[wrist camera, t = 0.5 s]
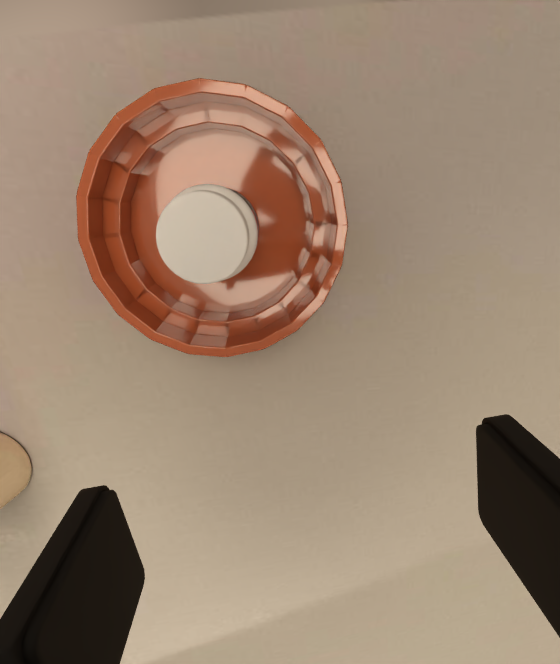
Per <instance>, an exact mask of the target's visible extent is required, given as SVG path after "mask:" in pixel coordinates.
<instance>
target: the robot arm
mask: <svg viewBox="0 0 560 664" xmlns="http://www.w3.org/2000/svg"><path fill="white" fill-rule="evenodd" d="M476 443H477V479H478V510H479V515H480V518H481V521H482V523H483V525H484V527H485V528H486V530H487V531H488V533H489V534H490V535H491V537H492V538H493V540H494V541H495V543H496V544H497V546H498V547H499V549H500V550H501V552H502V553H503V555H504V556H505V558H506V559H507V561H508V562H509V563H510V565H511V566H512V568H513V569H514V571H515V572H516V574H517V575H518V577H519V578H520V580H521V581H522V583H523V584H524V586H525V587H526V589H527V590H528V591H529V593H530V594H531V596H532V597H533V599H534V600H535V602H536V603H537V605H538V606H539V608H540V609H541V611H542V612H543V614H544V615H545V616H546V618H547V619H548V621H549V622H550V624H551V625H552V627H553V628H554V630H555V631H556V633H557V634H558V636H559V637H560V459H559V458H558V457H557V456H556V455H555V454H554V453H553V452H551V451H550V450H549V449H548V448H547V447H546V446H545V445H543V444H542V443H541V442H540V441H539V440H538V439H537V438H535V437H534V436H533V435H532V434H531V433H530V432H529V431H527V430H526V429H525V428H524V427H523V426H522V425H520V424H519V423H518V422H517V421H516V420H515V419H514V418H512V417H511V416H510V415H507V414H505V415H500V416H494V417H488V418H484V419H483V421H482V425H478V426H477V428H476ZM144 579H145V573H144V568H143V565H142V562H141V559H140V557H139V554H138V551H137V548H136V546H135V543H134V540H133V538H132V535H131V532H130V529H129V527H128V524H127V521H126V518H125V516H124V513H123V510H122V508H121V505H120V502H119V499H118V497H117V494H116V492H115V491H114V490H109V488H108V487H107V486H104V485H103V486H98V487H92V488H86V489H82V490H81V491H80V492H79V493H78V495H77V496H76V498H75V499H74V501H73V503H72V504H71V506H70V507H69V509H68V511H67V512H66V514H65V516H64V517H63V519H62V520H61V522H60V524H59V525H58V527H57V528H56V530H55V532H54V533H53V535H52V537H51V538H50V540H49V541H48V543H47V545H46V546H45V548H44V549H43V551H42V553H41V554H40V556H39V558H38V559H37V561H36V562H35V564H34V566H33V567H32V569H31V570H30V572H29V574H28V575H27V577H26V578H25V580H24V582H23V583H22V585H21V587H20V588H19V590H18V591H17V593H16V595H15V596H14V598H13V599H12V601H11V603H10V604H9V606H8V608H7V609H6V611H5V612H4V614H3V616H2V617H1V619H0V664H120V661H121V658H122V654H123V651H124V648H125V644H126V641H127V638H128V635H129V631H130V628H131V625H132V621H133V618H134V615H135V612H136V608H137V605H138V602H139V598H140V595H141V592H142V589H143V585H144Z"/></svg>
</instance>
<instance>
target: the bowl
mask: <svg viewBox="0 0 560 664" xmlns="http://www.w3.org/2000/svg"><path fill="white" fill-rule="evenodd" d="M200 184H214V185H220V186H223V187H226V188H229V189H232V190H235V191H237V192H239V193H240V194H242V195H243V196H244V197H246V198H247V199H248V201H249V202H250V203H251V204H252V206H253V208H254V209H255V212H256V214H257V217H258V221H259V235H258V242H257V247H256V250H255V253H254V255H253V257H252V259H251V260H250V262H249V263H248V265H247V266H246V267H245V268H244V269H243V270H242V271H241V272H239V273H238V274H236V275H235V276H233V277H231V278H229V279H226V280H223V281H219V282H215V283H210V284H198V283H193V282H189V281H187V280H184V279H183V278H181V277H179V276H178V275H176V274H175V273H174V272H172V271H171V270H170V269H169V268H168V266H167V265H166V264H165V263H164V261H163V259H162V258H161V255H160V253H159V251H158V247H157V242H156V227H157V223H158V220H159V217H160V215H161V213H162V211H163V210H164V208H165V207H166V206H167V205H168V204H169V203H170V202H171V200H172V199H173V198H174V197H175V196H176V195H178V194H179V193H180V192H182V191H183V190H185V189H187V188H189V187H192V186H195V185H200ZM76 200H77V224H78V239H79V243H80V246H81V249H82V252H83V254H84V257H85V260H86V263H87V266H88V268H89V271H90V274H91V277H92V279H93V281H94V283H95V284H96V285H97V287H98V288H99V290H100V291H101V292H102V294H103V295H104V296H105V298H106V299H107V300H108V302H109V303H110V305H111V306H112V307H113V309H114V310H115V311H116V313H117V314H118V315H119V316H121V317H122V318H123V319H124V320H126V321H127V322H128V323H130V324H131V325H132V326H134V327H135V328H136V329H137V330H139V331H140V332H141V333H143V334H144V335H145V336H147V337H148V338H149V339H151V340H153V341H156V342H158V343H161V344H164V345H166V346H169V347H171V348H174V349H176V350H179V351H182V352H184V353H188V354H195V355H207V356H219V357H229V356H234V355H239V354H244V353H248V352H253V351H258V350H262V349H265V348H267V347H269V346H271V345H272V344H274V343H276V342H278V341H280V340H281V339H283V338H285V337H287V336H289V335H290V334H292V333H294V332H296V331H297V330H298V329H299V328H300V327H301V326H302V325H303V324H304V323H305V322H306V321H307V320H308V319H309V318H310V317H311V316H312V315H313V314H314V312H315V311H316V310H317V309H318V308H319V307H320V306H321V305H322V304H323V303H324V301H325V299H326V297H327V295H328V293H329V291H330V289H331V287H332V285H333V283H334V281H335V279H336V277H337V275H338V273H339V271H340V269H341V266H342V261H343V255H344V248H345V242H346V235H347V229H348V225H347V224H348V221H347V214H346V207H345V201H344V194H343V188H342V182H341V179H340V177H339V175H338V173H337V171H336V169H335V167H334V165H333V163H332V161H331V159H330V157H329V155H328V153H327V151H326V148H325V146H324V144H323V142H322V141H321V139H320V138H319V137H318V136H317V135H316V134H315V133H314V132H313V131H312V130H311V129H310V128H309V127H308V126H307V125H306V124H305V123H304V122H303V120H302V119H301V118H300V117H299V116H298V115H297V114H296V113H295V112H294V111H293V110H292V109H291V108H290V107H288V106H287V105H285V104H283V103H281V102H280V101H278V100H276V99H274V98H272V97H270V96H268V95H266V94H264V93H262V92H260V91H258V90H256V89H254V88H252V87H250V86H248V85H245V84H240V83H232V82H225V81H217V80H210V79H202V78H200V79H199V78H197V79H193V80H189V81H184V82H180V83H175V84H171V85H167V86H162V87H158V88H154V89H152V90H151V91H149V92H148V93H146V94H145V95H143V96H142V97H140V98H139V99H137V100H136V101H134V102H133V103H131V104H130V105H128V106H127V107H125V108H124V109H122V110H121V111H119V112H118V113H116V115H115V116H114V117H113V118H112V120H111V121H110V123H109V124H108V125H107V127H106V128H105V130H104V131H103V132H102V134H101V135H100V136H99V138H98V139H97V141H96V142H95V143H94V145H93V146H92V148H91V149H90V152H89V153H88V156H87V160H86V163H85V166H84V170H83V173H82V177H81V180H80V184H79V187H78V191H77V195H76Z"/></svg>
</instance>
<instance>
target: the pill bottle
mask: <svg viewBox="0 0 560 664" xmlns="http://www.w3.org/2000/svg"><path fill="white" fill-rule="evenodd" d="M258 235H259V221H258V217H257V214H256V212H255V209H254V208H253V206H252V204H251V203H250V202H249V201H248V199H247V198H246V197H244V196H243V195H242V194H240V193H239V192H237V191H235V190H232V189H229V188H226V187H223V186H220V185H214V184H200V185H195V186H192V187H189V188H187V189H185V190H183V191H182V192H180V193H179V194H178V195H176V196H175V197H174V198H173V199H172V200H171V202H170V203H169V204H168V205H167V206H166V207H165V208H164V210H163V211H162V213H161V215H160V217H159V220H158V223H157V227H156V242H157V247H158V251H159V253H160V255H161V258H162V259H163V261H164V263H165V264H166V265H167V266H168V268H169V269H170V270H171V271H172V272H174V273H175V274H176V275H178V276H179V277H181V278H183V279H184V280H187V281H189V282H193V283H198V284H210V283H215V282H219V281H223V280H226V279H229V278H231V277H233V276H235V275H236V274H238V273H239V272H241V271H242V270H243V269H244V268H245V267H246V266H247V265H248V263H249V262H250V260H251V259H252V257H253V255H254V253H255V250H256V247H257V242H258Z"/></svg>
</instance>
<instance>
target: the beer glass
mask: <svg viewBox="0 0 560 664" xmlns="http://www.w3.org/2000/svg"><path fill="white" fill-rule="evenodd" d="M31 472H32V467H31V462H30V459H29V457H28V455H27V453H26V451H25V450H24V449H23V448H22V446H21V445H20V444H19V443H17V442H16V441H15V440H14V439H12V438H11V437H9V436H7V435H5V434H3V433H0V509H1V508H2V507H4V506H5V505H6V504H7V503H8V502H10V501H11V500H12V499H13V498H15V497H16V496H17V495H18V494H19V493H20V492H22V490H23V489H24V488H25V487H26V486H27V484H28V482H29V480H30V477H31Z"/></svg>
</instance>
